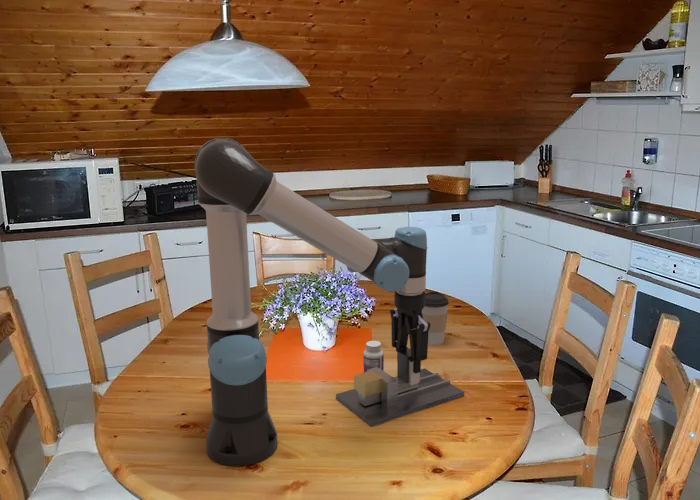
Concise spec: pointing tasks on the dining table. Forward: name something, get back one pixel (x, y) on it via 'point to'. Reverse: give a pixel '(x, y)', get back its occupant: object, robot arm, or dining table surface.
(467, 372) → the dining table surface
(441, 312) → the coffee cup
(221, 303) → the robot arm
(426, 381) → the slotted base plate
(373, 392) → the block
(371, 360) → the pill bottle
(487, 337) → the dining table surface
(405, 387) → the sliding bolt with handle
